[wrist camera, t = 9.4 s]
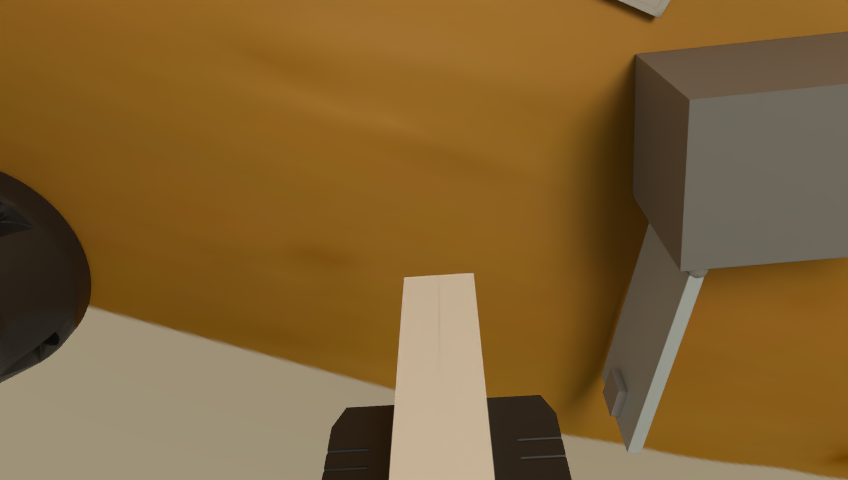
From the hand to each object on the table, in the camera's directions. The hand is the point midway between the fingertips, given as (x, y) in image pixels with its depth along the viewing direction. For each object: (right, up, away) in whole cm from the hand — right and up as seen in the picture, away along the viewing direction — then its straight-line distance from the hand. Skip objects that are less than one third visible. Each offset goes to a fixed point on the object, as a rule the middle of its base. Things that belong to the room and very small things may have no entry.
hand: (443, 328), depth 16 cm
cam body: (+22, +10, +27) cm, 36 cm away
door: (+13, -2, +31) cm, 34 cm away
